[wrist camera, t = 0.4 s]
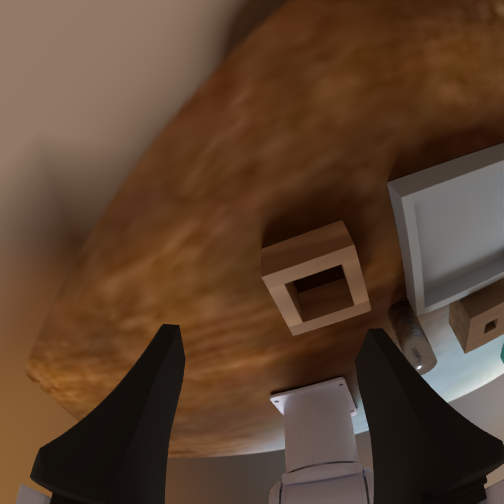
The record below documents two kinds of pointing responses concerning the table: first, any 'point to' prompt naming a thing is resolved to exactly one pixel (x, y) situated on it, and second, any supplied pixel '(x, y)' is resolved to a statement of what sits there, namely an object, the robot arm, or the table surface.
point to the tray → (451, 228)
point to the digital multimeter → (502, 354)
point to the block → (478, 316)
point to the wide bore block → (310, 262)
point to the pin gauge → (411, 337)
